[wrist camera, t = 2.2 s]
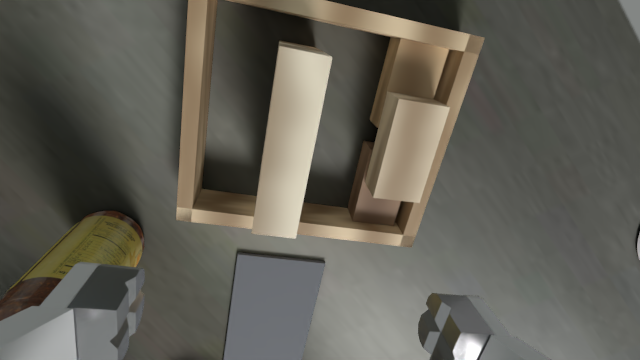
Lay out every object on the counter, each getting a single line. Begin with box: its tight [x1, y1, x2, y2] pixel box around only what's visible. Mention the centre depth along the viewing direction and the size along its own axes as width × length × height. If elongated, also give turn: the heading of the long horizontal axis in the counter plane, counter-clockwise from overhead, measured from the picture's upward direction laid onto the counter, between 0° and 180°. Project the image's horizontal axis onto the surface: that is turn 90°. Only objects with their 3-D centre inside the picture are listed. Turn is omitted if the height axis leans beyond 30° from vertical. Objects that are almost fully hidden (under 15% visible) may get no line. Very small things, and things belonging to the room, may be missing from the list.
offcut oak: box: [370, 37, 449, 128], centre depth 30 cm, size 4×7×3 cm, turn 169°
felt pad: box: [224, 252, 325, 360], centre depth 39 cm, size 9×17×1 cm, turn 169°
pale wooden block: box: [252, 40, 332, 239], centre depth 26 cm, size 3×12×10 cm, turn 169°
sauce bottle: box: [0, 211, 144, 321], centre depth 25 cm, size 7×6×20 cm
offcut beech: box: [365, 91, 450, 203], centre depth 29 cm, size 4×8×3 cm, turn 170°
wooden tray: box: [176, 0, 485, 247], centre depth 29 cm, size 21×18×4 cm
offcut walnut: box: [347, 141, 401, 226], centre depth 33 cm, size 4×7×3 cm, turn 169°
